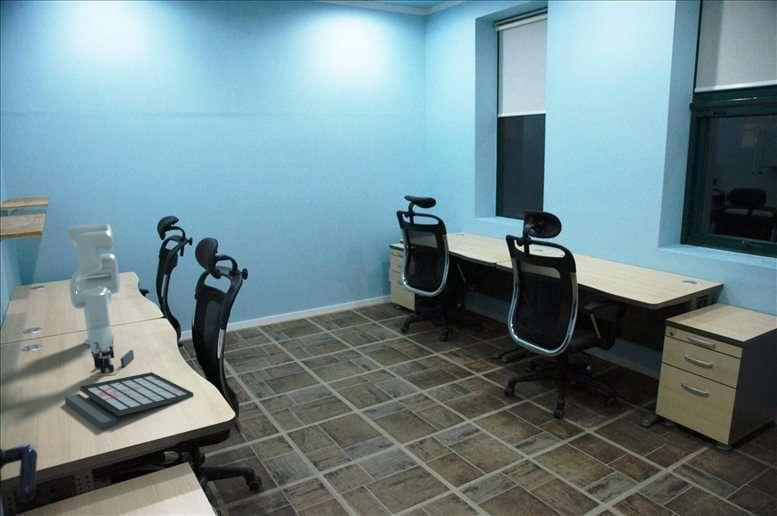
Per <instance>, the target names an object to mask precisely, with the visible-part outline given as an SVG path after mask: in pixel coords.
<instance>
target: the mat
mask: <svg viewBox="0 0 777 516" xmlns="http://www.w3.org/2000/svg"><path fill="white" fill-rule="evenodd" d="M122 369H123V368H122V367H120V368H119V367H117V368H114V372H108V373H101V372H99V371H101V370H99V369H97V370H98V371H96V370H94V372H93V373H91V374H90V375H89V377H90V378H91V377H92V378H93V377H105V376H106V377H109V376H116V375H117V374H118V373H120V371H122ZM96 372H98V373H96Z"/></svg>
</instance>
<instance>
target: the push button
mask: <svg viewBox="0 0 777 516" xmlns="http://www.w3.org/2000/svg"><path fill="white" fill-rule="evenodd" d="M112 349H113V348H112ZM112 349H109V348H107V349H106V350H105V351H103V352H102V357H103V363H104V367H101V368H100V369H96V370H95V371H98V370H101V371H99V372H101V373H108V372H114V369H115V367H114V364H113V362H112V358H111V356H110V355H111V354H112ZM98 354H99V353H98ZM108 356H109V358H108ZM96 373H98V372H96Z"/></svg>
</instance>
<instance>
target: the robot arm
mask: <svg viewBox="0 0 777 516" xmlns="http://www.w3.org/2000/svg"><path fill="white" fill-rule="evenodd" d="M66 235H67V237H68V239H69V241H70V242H71V243H72V244H73V246H74V249H76V256H77V263H78V268H77V270H75V272H74V273H73V274H72V276H71V278H70V281H69V294H70V301H71V304H72V306H73V308H75V309H78V310H79V309H83V313H84V322H85V328H86V333H87V334H86V335H87V338H86V339H84V344H85V345H88V346H89V349H90V353H91V357H92V359H93V361H94V362H93V363H94V368H101V367H104V364H103V357H102V352H103V351H105V350H106V349H107V348H109V349H112V354H111V355H110V356H111V359H114V358H115V352H114V339H115V336H114V334H112V331H113V328H112V327H111V320H110V311H109V305H108V304H109V303H110V302H111V300H112V295H113V294H117V293H119V292H120V291H121V280H120V273H119V271H120V270H119V265H118V264H119V263H118V259H117V257H116V255H114V254H113V253H101V252H103V251H111V250H113V249H114V248H115V237H114V233H113V229H112V226H111V225H110V224H108V223H95V224H83V225H73V226H70V227H68V228H67V230H66ZM98 353H99V354H98ZM108 358H109V356H108Z"/></svg>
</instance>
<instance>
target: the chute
mask: <svg viewBox="0 0 777 516" xmlns="http://www.w3.org/2000/svg"><path fill="white" fill-rule="evenodd" d="M134 359H135V355H134V349H130V350H129V351H127V352H126V353H125V354H124V355H123V356H122V357H121V358H120V364H121V368H122V369H123V368H126V367H127V366H128V365H129V364H130V363H131V362H132V361H133V360H134ZM103 364H104V363H103ZM99 369H100V368H97V369H96V370H99Z"/></svg>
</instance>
